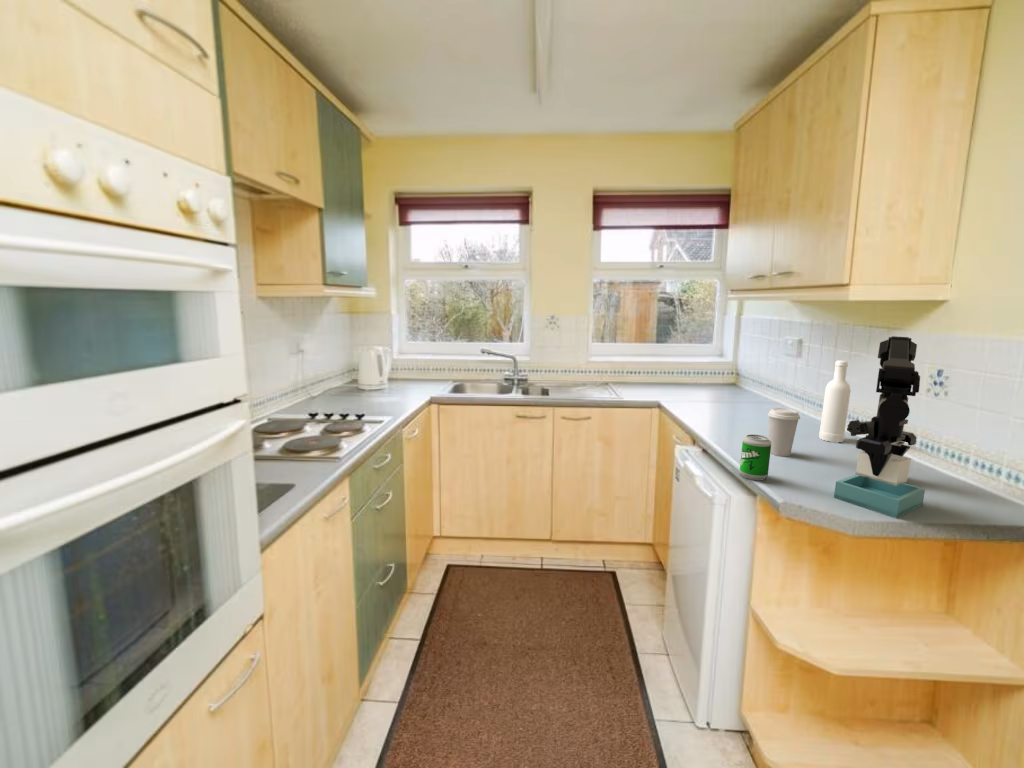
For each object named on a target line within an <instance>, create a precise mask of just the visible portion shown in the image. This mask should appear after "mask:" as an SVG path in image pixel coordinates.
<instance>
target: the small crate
mask: <svg viewBox="0 0 1024 768" xmlns="http://www.w3.org/2000/svg"><path fill="white" fill-rule="evenodd" d="M911 461H912V458H911V457H906V456H898V455H894V454H892V455H891V457H890V458H889V460H888V462H887V463H886V465H885V466H884V468H883V470H882V471H881V473H880V474H879V476H875V475H873V472H872V468H871V463H870V459H869V456H868V454H867V453H866V452H865V451H863V450H861V451H859V452H858V456H857V463H856V469H855V475H860V476H863V477H867V478H870V479H874V480H877V481H881V482H884V483H888V484H891V485H895V486H897V485H899V484H901V483H906V482H908V478H909V472H910V467H911Z"/></svg>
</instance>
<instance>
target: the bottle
mask: <svg viewBox="0 0 1024 768" xmlns="http://www.w3.org/2000/svg"><path fill="white" fill-rule="evenodd" d="M848 363H849V362H848V361H847V360H843V359H842V360H840V359H839V360H836V361H835V363H834V373H833V379H832V380H830V381H829V382H828V383H827V385H826V386H825V389H824V396H823V397H824V399H823V405H822V411H821V412H822V413H821V418H820V419H821V421H820V427H819V434H818V435H819V436H818V439H819V438H820V439H819V440H821V439H822V440H821V441H823V440H825V441H824V442H827V441H830V442H829V443H833V442H841V443H843V442H844V440H845V436H846V435H845V432H846V424H847V418H848V410H849V404H850V398H851V391H852V390H851V386H850V384H849V382H848V381H846V376H847V369H848Z"/></svg>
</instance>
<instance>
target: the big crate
mask: <svg viewBox="0 0 1024 768" xmlns="http://www.w3.org/2000/svg"><path fill="white" fill-rule="evenodd" d="M925 491H926V488H923V487H920V486H916V485H914V484H913V485H912V484H910V483H906V482H904V483H901V484H899V485H897V486H895V485H891V484H888V483H884V482H881V481H877V480H874V479H870V478H867V477H863V476H860V475H856V474H853V475H850V476H848V477H844V478H842V479H839V480H836V481H835V487H834V494H833V498H834V499H837V500H841V501H843V502H846V503H848V504H849V503H850V504H852V505H855V506H858V507H862V508H865V509H867V510H871V511H873V512H877V513H880V514H882V515H885V516H889V517H892V518H894V519H897V518H900V517H902V516H903V515H905V514H909V513H910V512H912V511H913V510H916V509H918V508H920V507H922V506H923V503H924V499H925V498H924V497H925Z"/></svg>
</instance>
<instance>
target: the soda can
mask: <svg viewBox="0 0 1024 768" xmlns="http://www.w3.org/2000/svg"><path fill="white" fill-rule="evenodd" d="M770 452H771V441H770V440H769V437H767V436H765V435H760V434H747V435H746V436H745V437H742V444H741V453H740V463H739V473H740V474H741V475H742V476H743V478H745V479H748V480H752V481H763V480H764V479H766V478H767V477H768V476H769V470H770V469H769V468H770V458H771V454H770ZM762 479H763V480H762Z"/></svg>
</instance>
